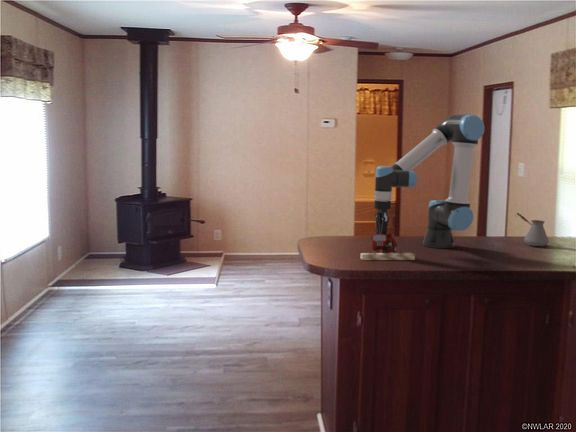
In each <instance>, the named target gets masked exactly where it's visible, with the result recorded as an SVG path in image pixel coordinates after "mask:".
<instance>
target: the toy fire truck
mask: <svg viewBox="0 0 576 432" xmlns="http://www.w3.org/2000/svg"><path fill="white" fill-rule="evenodd" d="M370 240H371V250H370V251H371V252H370V253H398V245H397V242H396V239H395V238H394V237H393V236H392V233H388V234H376V233H372V234H371V235H370Z"/></svg>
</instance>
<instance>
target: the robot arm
mask: <svg viewBox="0 0 576 432" xmlns="http://www.w3.org/2000/svg"><path fill="white" fill-rule="evenodd" d="M484 133H485V124H484V121H483V120H482V118H481V117H479V116H478V115H476V114H454V115H451V116H448V117H447V118H446V119H444V120H443V121H441V122H440V123H438V125H437V126H435V127H434V128H433V129H432V132H431V134H429V135H427V137H425V138H424V139H423V140H422V141H420V143H418V144H417V145H416V146H414V147H413V148H412V149H411V150H410V151H408V152H407V153H406V154H405V155H404V156H403V157H401V158H400V159H398V161H396V162H395V163H394V164H392V165H390V166H389V165H388V166H387V165H378V166H377V167H376V169H375V175H374V176H375V179H374V181H375V183H374V185H375V187H374V193H373V195H374V202H373V203H374V204H373V208H374V209H376V210H377V212H376V213H374V217H375V234H386V235H388V234H387V233H388V226H389V225H388V224H389V220H390V217H388V210H391V208H392V201H391V200H392V193H393V192H392V190H393V188H408V189H409V188H414V187H416V185H417V183H418V175H417V172H415V171H414V169H415V168H416V167H417V166H418V165H420V164H421V163H422V162H423V161H424V160H426V159H427V158H428V157H429V156H430V155H432V154H433V153H434V152H436V150H438V149H440V147H442V146H446V145H447V144H449V143H450V142H451V143H452V145H453V146H454V149H453V150H454V152H453V158H452V159H453V160H452V169H451V174H450V175H451V176H450V182H449V183H450V184H449V185H450V186H449V192H448V197H447V198H446V199H444V200H443V199H442V200H441V199H439V200H437V199H435V200H433V199H432V200H430V201H429V204H428V213H427V214H428V218H427V230H426V233H425V235H424V238H423V241H422V242H423V243H422V246H425V247H428V248H433V249H453V248H454V247H455V240H454V236H453V232H452V230H453V231H459V232H461V231H464V230H467V229H468V228H469V227H471V225H472V224H473V221H474V212H473V211H472V210H471V201H470V200H469V199H468V198H469V190H470V184H471V182H470V180H471V175H472V174H471V173H472V165H473V156H474V149H475V148H476V147H477V146H478V144H479V140H480V139H481V138H482V137H483V135H484Z"/></svg>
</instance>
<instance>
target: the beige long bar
mask: <svg viewBox="0 0 576 432" xmlns="http://www.w3.org/2000/svg"><path fill="white" fill-rule="evenodd" d="M359 257H360V260H361V259H362V261H411V260H412V261H415V260H416V254H415V253H414V252H397V253H372V252H361V253H360V255H359Z"/></svg>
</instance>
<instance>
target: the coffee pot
mask: <svg viewBox="0 0 576 432" xmlns="http://www.w3.org/2000/svg"><path fill="white" fill-rule="evenodd" d="M514 216H515V217H517V216H518V217H520V218H521V219H522V220H523V221H525V222H526V223H528V224H529V225H530V228H529V229H528V232H527V234H526V235H525V237H524V242H525V244H527V246H528V245H533V246H544V247H545V246H547V245H548V244H549V239H548V236H547V233H546V229H545V226H544V224H545V223H546V222H545V220H538V219H537V220H536V219H532V220H531V222H530V221H529V220H527V219H526V218H525V216H523V215H522V214H520V213H519V212H516V213H515V215H514Z"/></svg>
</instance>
